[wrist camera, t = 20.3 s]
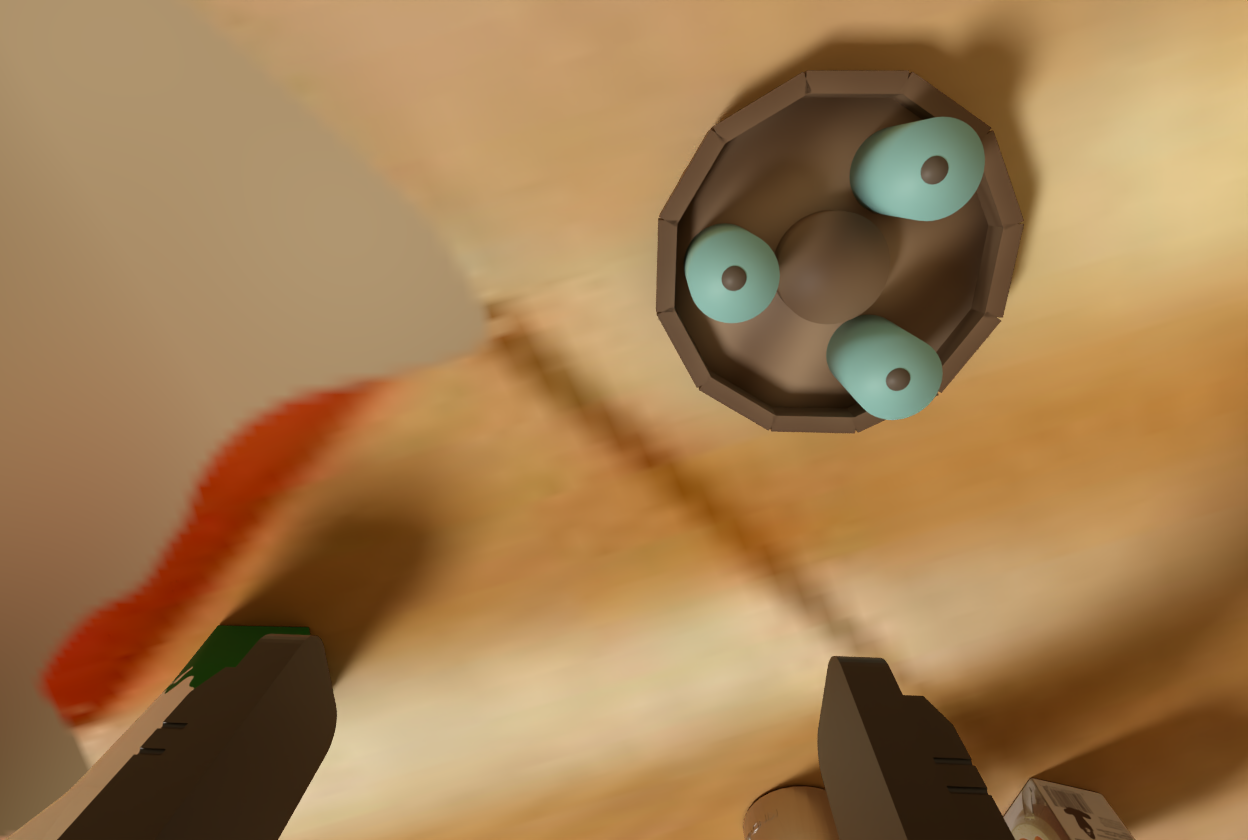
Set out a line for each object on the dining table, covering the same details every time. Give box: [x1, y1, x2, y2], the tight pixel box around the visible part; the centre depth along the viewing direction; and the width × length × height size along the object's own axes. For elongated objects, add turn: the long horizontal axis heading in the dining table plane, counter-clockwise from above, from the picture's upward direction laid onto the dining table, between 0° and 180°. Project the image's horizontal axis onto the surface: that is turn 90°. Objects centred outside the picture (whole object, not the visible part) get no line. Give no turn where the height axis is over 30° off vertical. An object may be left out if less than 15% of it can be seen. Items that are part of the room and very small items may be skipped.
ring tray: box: [656, 71, 1024, 433], centre depth 35 cm, size 19×19×3 cm
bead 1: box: [684, 223, 780, 323], centre depth 33 cm, size 4×4×6 cm
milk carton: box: [5, 625, 310, 840], centre depth 40 cm, size 9×9×20 cm
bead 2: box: [850, 117, 985, 221], centre depth 31 cm, size 4×4×6 cm
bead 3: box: [826, 315, 943, 420], centre depth 35 cm, size 4×4×6 cm
